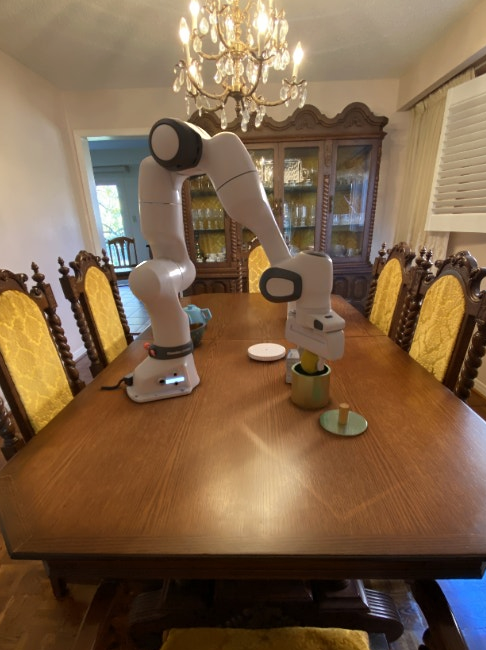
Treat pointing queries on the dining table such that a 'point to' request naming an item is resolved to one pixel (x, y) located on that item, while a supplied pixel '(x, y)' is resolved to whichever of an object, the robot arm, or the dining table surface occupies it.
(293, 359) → the medicine box
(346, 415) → the lid
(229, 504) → the dining table surface
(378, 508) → the dining table surface
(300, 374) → the tin
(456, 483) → the dining table surface
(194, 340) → the dark green pot
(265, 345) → the plastic lid
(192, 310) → the teapot
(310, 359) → the lemon
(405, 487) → the dining table surface
